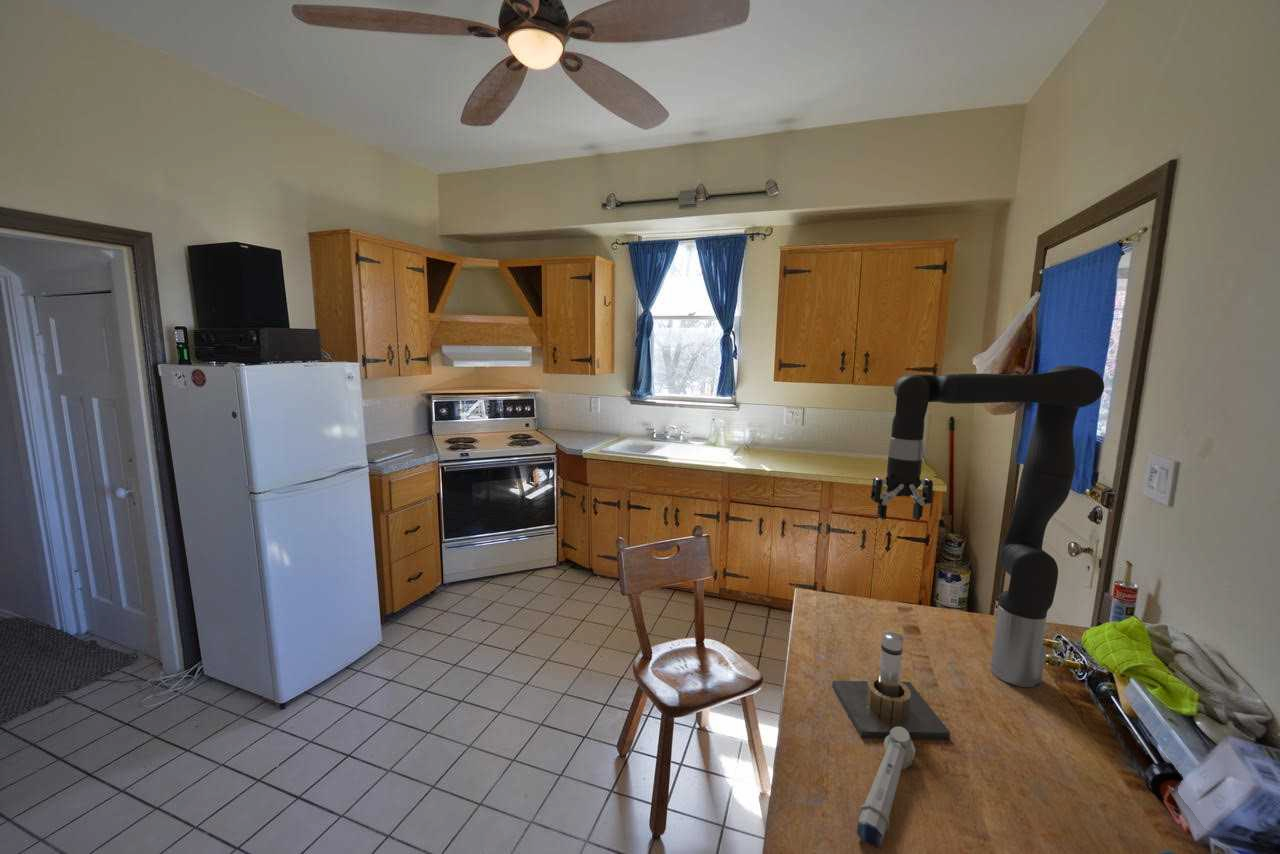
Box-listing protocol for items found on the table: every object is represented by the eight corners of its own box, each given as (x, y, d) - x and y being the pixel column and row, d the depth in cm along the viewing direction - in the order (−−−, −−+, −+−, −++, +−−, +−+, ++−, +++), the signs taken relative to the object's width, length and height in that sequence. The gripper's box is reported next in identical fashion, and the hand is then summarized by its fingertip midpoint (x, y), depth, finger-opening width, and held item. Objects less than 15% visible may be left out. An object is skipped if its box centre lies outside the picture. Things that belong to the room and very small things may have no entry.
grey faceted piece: (852, 816, 82) (889, 712, 101) (850, 847, 84) (887, 739, 103) (887, 835, 79) (919, 724, 98) (885, 867, 81) (916, 752, 100)
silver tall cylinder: (891, 698, 114) (897, 631, 111) (900, 711, 110) (907, 642, 107) (873, 697, 114) (878, 631, 111) (881, 710, 110) (887, 642, 107)
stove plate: (908, 687, 120) (911, 666, 119) (949, 739, 104) (952, 714, 103) (832, 686, 120) (833, 665, 119) (861, 738, 104) (863, 713, 103)
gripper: (883, 458, 123) (877, 523, 125) (942, 459, 123) (935, 524, 125) (869, 452, 130) (864, 513, 133) (925, 453, 130) (919, 514, 133)
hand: (899, 518), depth 129 cm, fingers open, 8 cm apart
